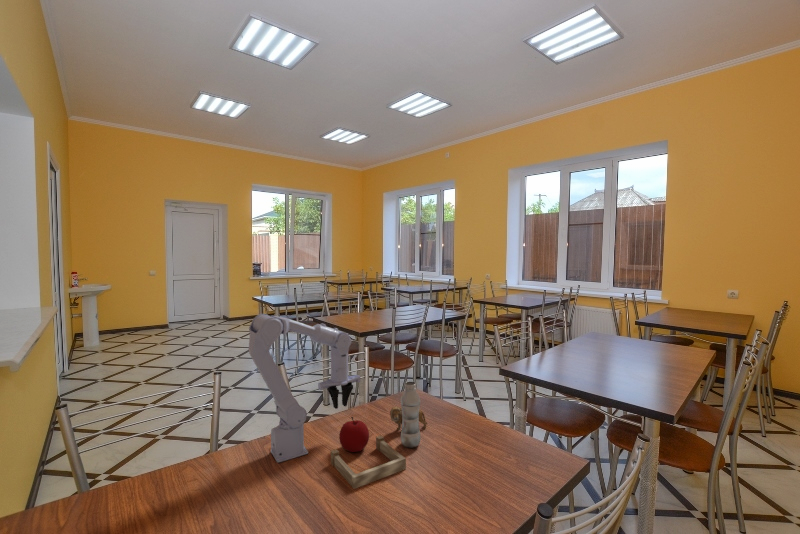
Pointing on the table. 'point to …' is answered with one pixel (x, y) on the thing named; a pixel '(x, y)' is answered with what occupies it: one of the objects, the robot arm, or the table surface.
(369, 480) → the corral
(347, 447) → the apple
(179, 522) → the table surface
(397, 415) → the lion figurine
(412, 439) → the plastic bottle
